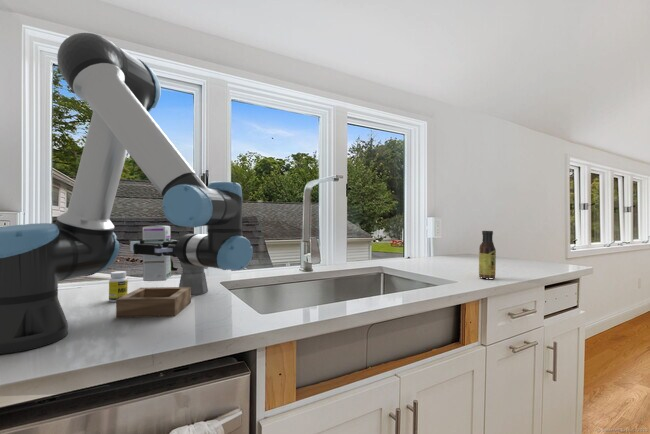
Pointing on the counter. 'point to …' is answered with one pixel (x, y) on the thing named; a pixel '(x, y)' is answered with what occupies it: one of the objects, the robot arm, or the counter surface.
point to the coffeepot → (192, 278)
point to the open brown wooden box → (153, 302)
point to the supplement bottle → (117, 285)
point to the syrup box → (156, 265)
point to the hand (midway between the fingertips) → (147, 245)
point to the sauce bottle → (487, 256)
